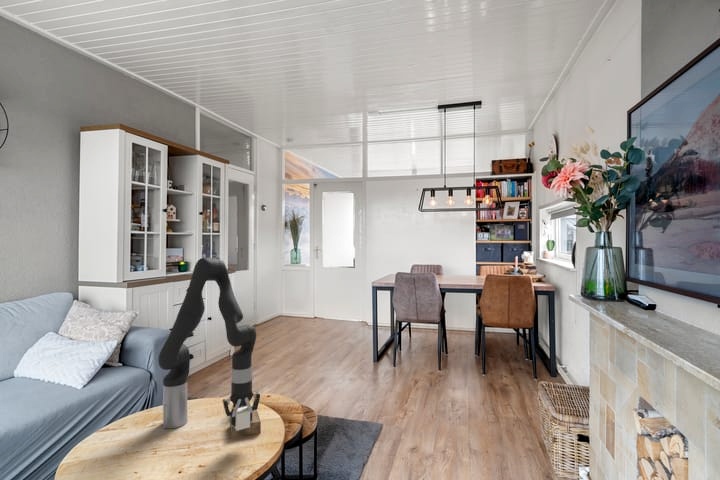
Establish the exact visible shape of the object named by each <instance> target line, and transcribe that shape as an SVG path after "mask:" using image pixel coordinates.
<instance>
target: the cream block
mask: <svg viewBox="0 0 720 480" xmlns="http://www.w3.org/2000/svg"><path fill="white" fill-rule="evenodd" d="M235 417H236V426H234V427H235V429H236V431H237V430H241V429H245V428H249V427H250V410H248V408H247V406H246V407H241V408H238V410H237V412H236V414H235Z"/></svg>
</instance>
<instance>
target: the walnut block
mask: <svg viewBox="0 0 720 480" xmlns="http://www.w3.org/2000/svg"><path fill="white" fill-rule="evenodd" d="M261 424H262V423H261V418H260V416H259V412H258V409H257V410H254V411H253V412H252V421H251V422H250V427H249V428H245V429H241V430H237V431H236V429H235V427H234V426H233V425H232V424H231V416H229V428H230V434H231V439H238V438H244V437H247V436H252V435H257V434H261V431H262V429H261Z"/></svg>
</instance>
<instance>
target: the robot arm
mask: <svg viewBox="0 0 720 480" xmlns="http://www.w3.org/2000/svg"><path fill="white" fill-rule="evenodd" d="M227 268H228V267H227V265H226V263H225V262H224V260H223V259H221V258H214V257H201V258H200V259H198V260H197V261H196V262H195V265H194V268H193V270H192V274H191V278H190V282H189V286H188V288H187V291H186V294H185V296H184V299H183V301H182V303H181V306H180V307H179V310H178V313H177V314H176V319H175V320H174V323H173V325H172V328H171V330H170V332H169V335H168V336H167V338H166V340H165V342H164V344H163V346H162V348H161V350H160V351H159V354H158V360H157V361H158V366H159V367H160V368H161V370H165V371H169V372H168V373H167V374H166V375H165V376H164V377H163V381H162V388H163V389H162V393H163V394H162V397H163V398H162V426H163V430H166V429H175V428H179V427H181V426H184V425H186V424H187V423H188V377H189V375H190V364H191V363H190V362H191V355H190V354H191V353H190V349H189V347H188V346H187V344H185V341H186V340H187V339H188V338H189V336H190V335H192V333H193V332H194V331H195V330H196V329H197V327H198V326H199V324H200V322H201V320H202V318H203V315H204V312H205V306H206V305H205V302H204V299H203V298H204V297H203V290H204V287H205V285H206V283H207V281H208V282H209V281H210V282H211V281H215V283H216V284H217V286H218V290H219V295H218V309H219V311H220V315H221V316H222V319H223V320H224V325H225V331H226V339H227V343H229V344H230V346H231V347H233V348H234V347H240V348H239V349H238V350H236V351H234V352H233V353H232V355H231V360H232V361H231V373H230V374H231V378H230V381H231V382H230V384H231V385H230V386H231V388H230V392H231V393H230V394H231V395H229V398H227V399H226V398H224V399H222V404H223V408H224V412H225V415H226V416H227V417H229V418H230V416H231V424H232V425H233V426H236V417H235V414H236V412H237V410H238V407H241V406H247V408H248V410H250V422H251V421H252V412H253V411H255V410H257V411H258V407H259V403H260V398H261V394H260V393H259V392H258V391H257V392H253V369H252V360H253V359H252V355H253V351H254V347H255V346H256V345H255V344H256V340H257V331H256V328H255V327H254V326H253V325H251V324H244V325H240V326H238V325H237V324H238V323H240V322H241V321H242V320H243V318H244V314H243V312H242V309H241V308H240V306H239V303H238V301H237V299H236V297H235V294H234V293H235V292H234V290H233V287H232V283H231V279H230V275H229V272H228V269H227ZM252 398H253V404H252V405H251V403H250V401H251V400H252ZM230 403H232V407H231V410H230V408H229V405H230Z"/></svg>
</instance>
